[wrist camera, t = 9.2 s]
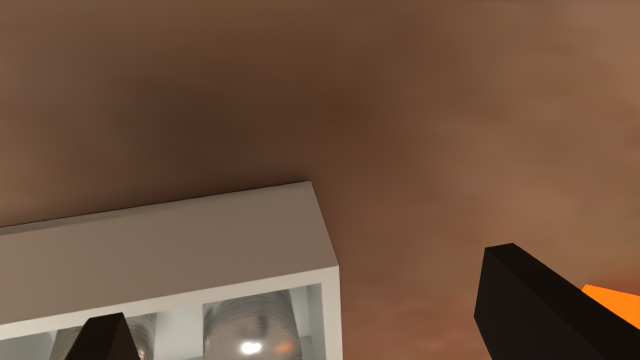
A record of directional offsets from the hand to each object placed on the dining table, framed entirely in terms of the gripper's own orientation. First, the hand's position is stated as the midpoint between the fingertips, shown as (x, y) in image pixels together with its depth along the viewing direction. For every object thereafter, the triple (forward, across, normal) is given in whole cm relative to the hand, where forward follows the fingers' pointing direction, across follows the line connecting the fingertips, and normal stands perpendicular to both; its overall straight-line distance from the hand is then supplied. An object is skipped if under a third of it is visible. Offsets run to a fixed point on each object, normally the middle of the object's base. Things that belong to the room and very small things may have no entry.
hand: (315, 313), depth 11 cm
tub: (+10, +4, +8) cm, 14 cm away
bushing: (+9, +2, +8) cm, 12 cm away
